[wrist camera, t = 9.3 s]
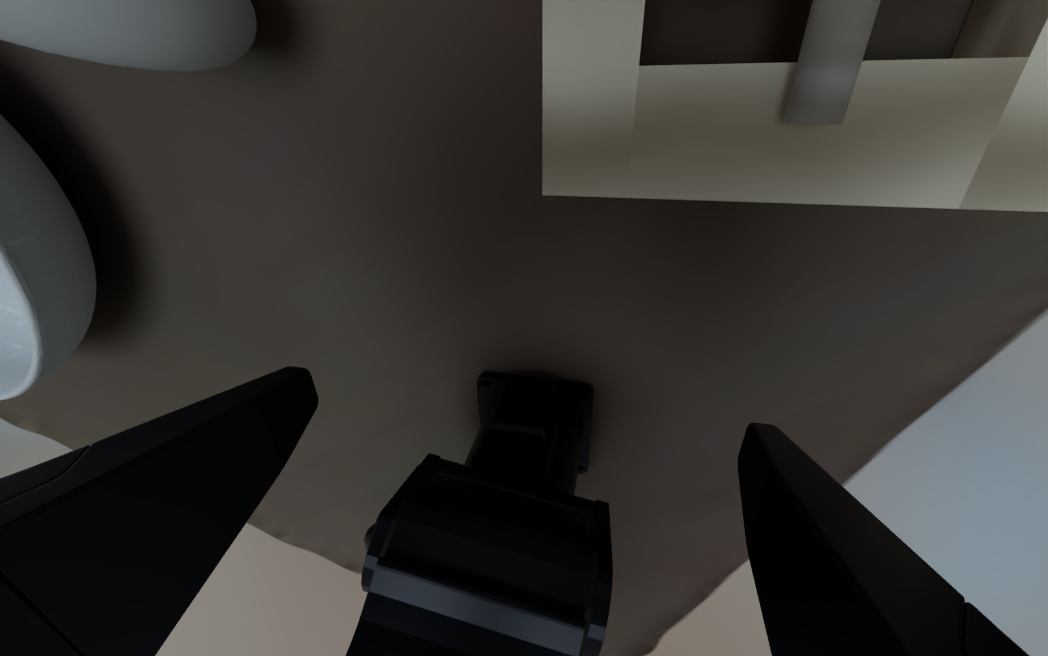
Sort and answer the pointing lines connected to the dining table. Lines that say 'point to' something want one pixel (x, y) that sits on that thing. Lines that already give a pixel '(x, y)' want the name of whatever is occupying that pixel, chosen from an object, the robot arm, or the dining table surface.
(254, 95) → the dining table surface
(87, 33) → the donut
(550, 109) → the grey square tray
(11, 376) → the serving bowl
